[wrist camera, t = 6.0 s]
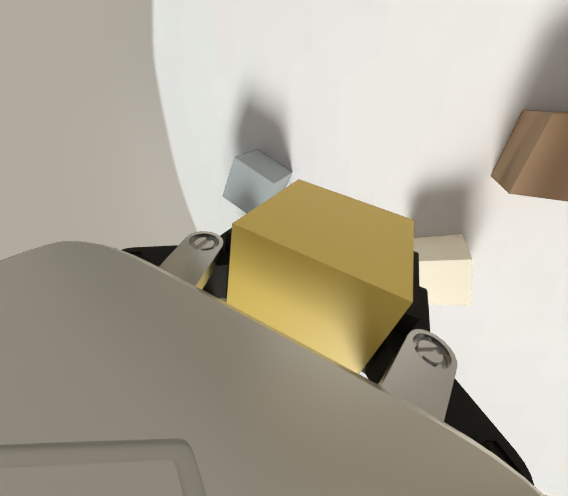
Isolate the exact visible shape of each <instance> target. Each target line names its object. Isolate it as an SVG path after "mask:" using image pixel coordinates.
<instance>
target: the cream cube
mask: <svg viewBox="0 0 568 496" xmlns="http://www.w3.org/2000/svg"><path fill="white" fill-rule="evenodd" d="M414 251H415V252H418V253H419V286H421V287H423V288H426V289H427V292H428V304H439V305H463V306H471V297H472V258H471V255H470V253H469V250H468V247H467V245H466V242H465V240H464V237H463V235H462V234H455V235H442V236H430V237H417V238H414Z"/></svg>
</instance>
